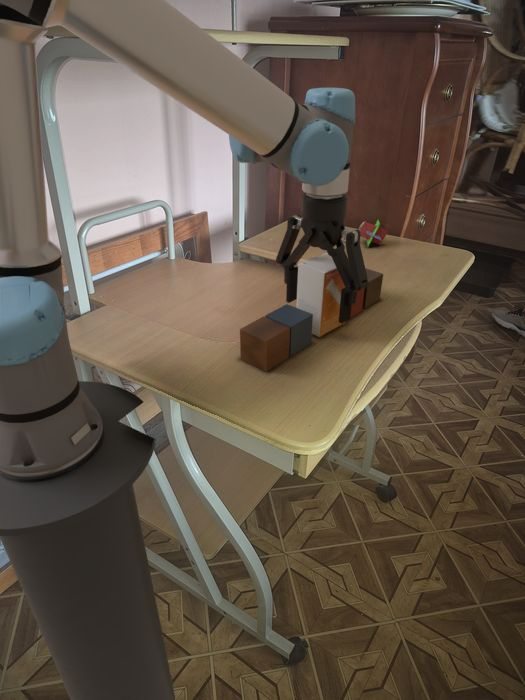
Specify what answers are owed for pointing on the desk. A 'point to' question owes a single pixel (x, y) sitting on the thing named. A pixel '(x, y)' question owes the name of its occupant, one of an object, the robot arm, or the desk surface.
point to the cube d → (372, 288)
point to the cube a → (264, 343)
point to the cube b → (294, 325)
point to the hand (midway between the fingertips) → (317, 309)
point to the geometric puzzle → (372, 232)
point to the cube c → (358, 303)
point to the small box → (320, 292)
